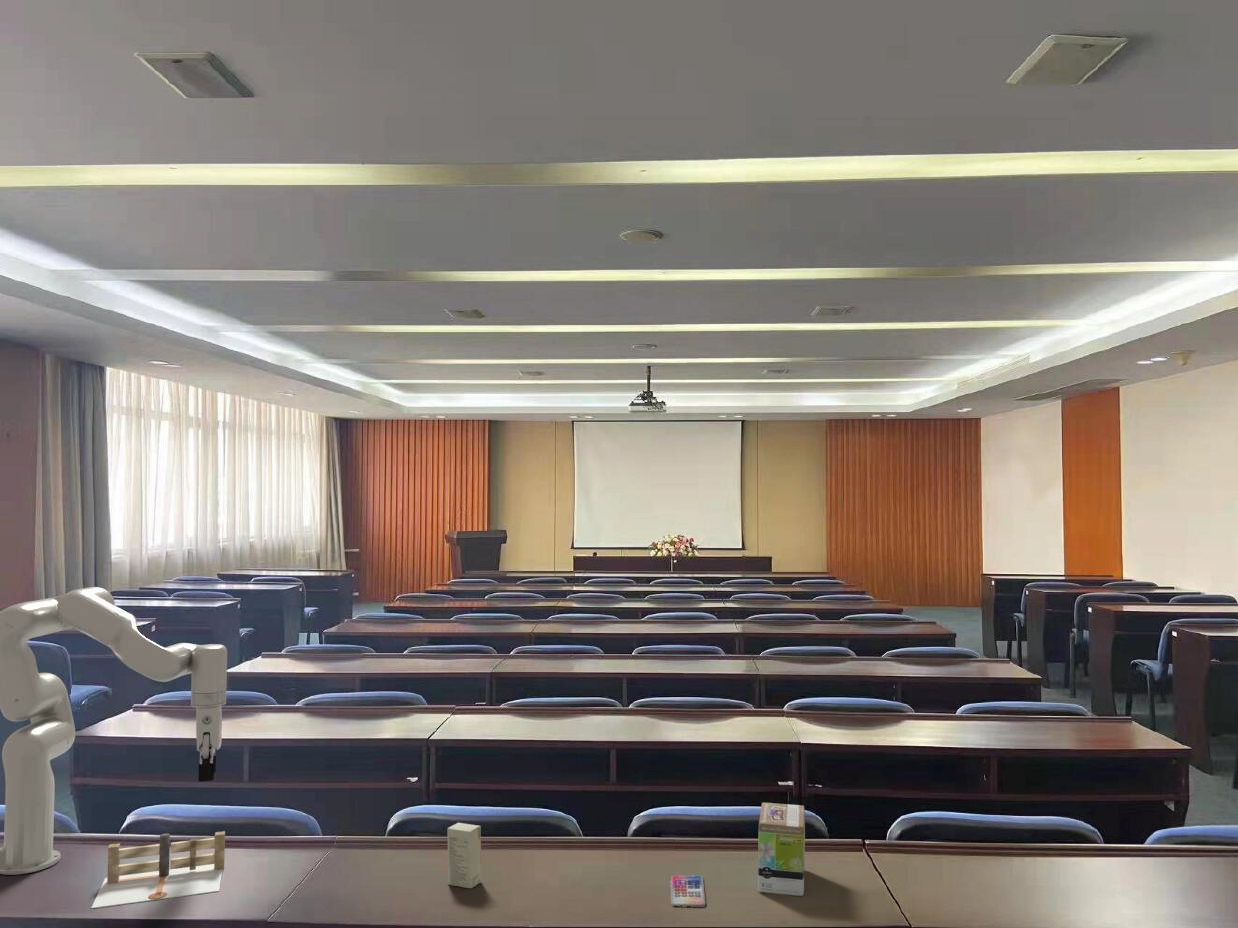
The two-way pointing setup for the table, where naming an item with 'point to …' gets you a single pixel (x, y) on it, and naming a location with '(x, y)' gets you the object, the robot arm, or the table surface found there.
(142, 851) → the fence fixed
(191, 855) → the fence gate
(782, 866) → the tea box
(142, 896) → the card
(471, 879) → the skincare box
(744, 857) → the table surface
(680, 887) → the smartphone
